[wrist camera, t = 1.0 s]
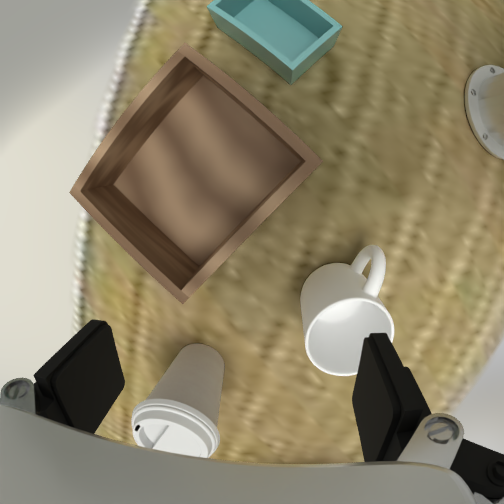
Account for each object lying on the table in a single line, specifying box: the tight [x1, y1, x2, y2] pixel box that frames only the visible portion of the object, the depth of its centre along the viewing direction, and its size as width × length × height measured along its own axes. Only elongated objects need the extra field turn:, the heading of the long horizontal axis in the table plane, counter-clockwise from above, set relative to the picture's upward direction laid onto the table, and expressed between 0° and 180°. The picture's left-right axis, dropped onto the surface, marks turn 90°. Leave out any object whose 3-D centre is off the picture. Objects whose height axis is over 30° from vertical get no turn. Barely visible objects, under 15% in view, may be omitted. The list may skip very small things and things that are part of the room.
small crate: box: [207, 0, 343, 85], centre depth 26 cm, size 7×11×6 cm, turn 47°
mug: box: [300, 245, 394, 376], centre depth 31 cm, size 12×8×10 cm
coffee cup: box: [132, 343, 225, 458], centre depth 34 cm, size 10×10×15 cm
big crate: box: [70, 43, 323, 304], centre depth 30 cm, size 18×16×8 cm
